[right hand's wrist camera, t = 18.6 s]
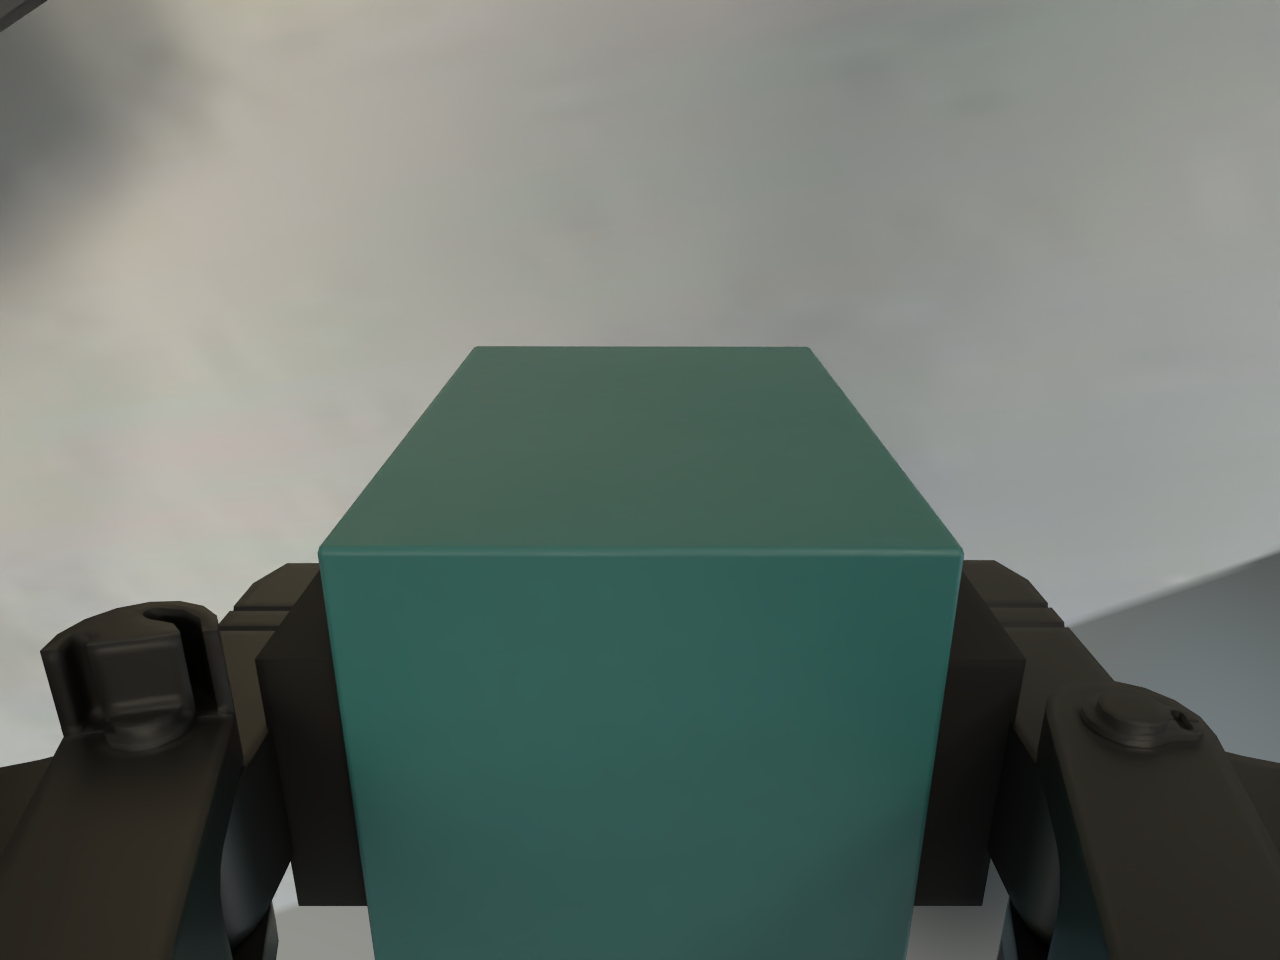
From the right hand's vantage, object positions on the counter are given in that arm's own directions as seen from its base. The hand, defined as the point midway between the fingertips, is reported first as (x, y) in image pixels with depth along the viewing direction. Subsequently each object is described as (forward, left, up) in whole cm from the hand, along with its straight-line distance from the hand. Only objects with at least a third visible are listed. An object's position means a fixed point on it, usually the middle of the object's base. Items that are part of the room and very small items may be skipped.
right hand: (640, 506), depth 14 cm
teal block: (0, 0, 0) cm, 0 cm away
